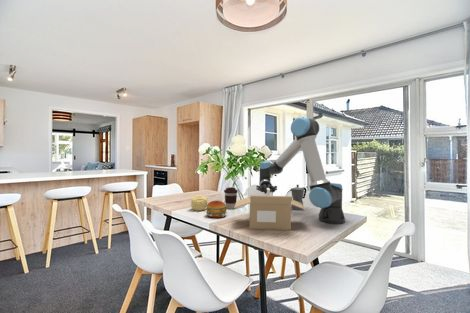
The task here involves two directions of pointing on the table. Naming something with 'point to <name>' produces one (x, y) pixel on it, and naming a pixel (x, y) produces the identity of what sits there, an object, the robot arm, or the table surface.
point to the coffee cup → (230, 197)
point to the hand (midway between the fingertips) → (268, 192)
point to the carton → (269, 215)
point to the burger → (216, 209)
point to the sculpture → (199, 203)
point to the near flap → (271, 199)
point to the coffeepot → (298, 196)
